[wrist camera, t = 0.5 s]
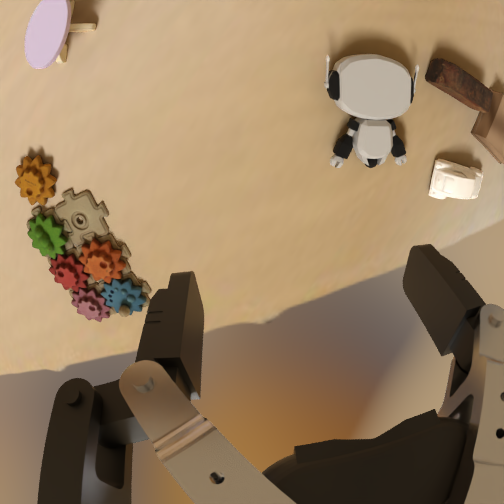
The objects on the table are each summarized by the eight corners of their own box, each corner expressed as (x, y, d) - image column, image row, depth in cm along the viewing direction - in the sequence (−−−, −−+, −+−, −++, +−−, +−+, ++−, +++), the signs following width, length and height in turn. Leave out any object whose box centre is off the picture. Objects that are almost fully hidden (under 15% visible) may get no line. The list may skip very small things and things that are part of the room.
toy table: (83, 70, 27) (61, 71, 22) (32, 65, 25) (8, 68, 20) (107, 0, 22) (89, -9, 17) (53, 0, 20) (30, -6, 15)
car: (423, 193, 40) (439, 206, 36) (430, 156, 37) (448, 166, 33) (471, 197, 41) (487, 209, 37) (479, 164, 37) (496, 174, 34)
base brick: (489, 88, 30) (503, 92, 27) (515, 122, 32) (528, 127, 29) (470, 132, 34) (484, 138, 31) (498, 162, 37) (511, 169, 34)
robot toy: (398, 158, 38) (403, 58, 28) (414, 171, 34) (422, 61, 25) (319, 161, 38) (316, 50, 28) (330, 175, 34) (328, 50, 25)
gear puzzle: (3, 173, 32) (-12, 183, 29) (73, 127, 31) (58, 133, 28) (89, 318, 49) (83, 333, 46) (160, 301, 48) (156, 318, 45)
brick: (475, 87, 30) (494, 92, 26) (470, 108, 32) (489, 115, 28) (427, 57, 28) (447, 58, 24) (422, 80, 30) (442, 83, 26)
